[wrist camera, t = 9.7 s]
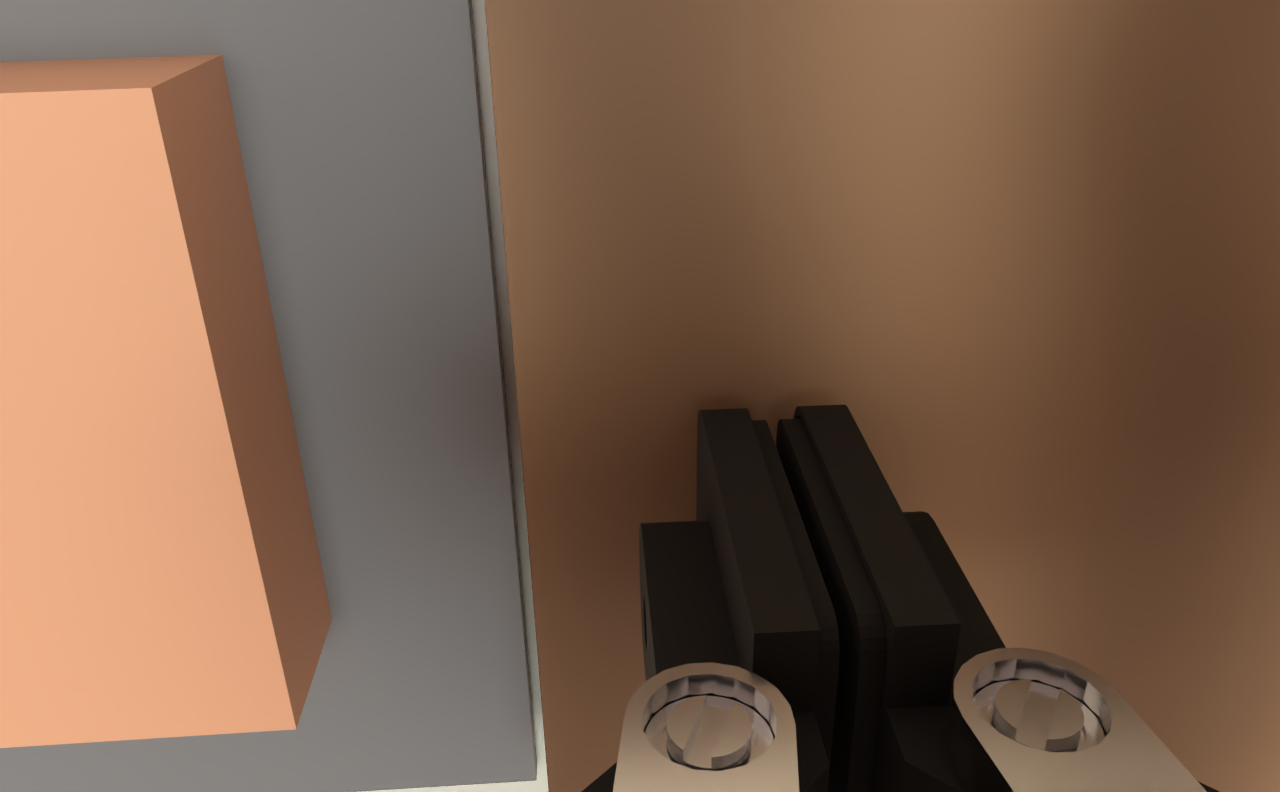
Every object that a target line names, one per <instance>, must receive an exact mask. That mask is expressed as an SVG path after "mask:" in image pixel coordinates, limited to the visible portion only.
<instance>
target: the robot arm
mask: <svg viewBox="0 0 1280 792" xmlns="http://www.w3.org/2000/svg"><path fill="white" fill-rule="evenodd" d="M639 555H640V600H641V623H642V641H643V655H644V667H645V678H646V681H645V682H644V683H643V684H642V685H641V686H640V687H639V689H638V690H637V691H636V692H635V693H634V694H633V695H632V696H631V698H630V701H629V704H628V706H627V709H626V712H625V714H624V720H623V727H622V733H621V740H620V747H619V753H618V760H617V762H616V763H615V764H614V765H613V766H611V767H610V768H609V769H608V770H607V771H605V772H604V773H603V774H602V775H601V776H599V777H598V778H597V779H596V780H595V781H593V782H592V783H591V784H590V785H589V786H587V787H586V788H585V789H584V790H583V791H581V792H1220V791H1217V790H1215V789H1213V788H1211V787H1209V786H1207V785H1205V784H1203V783H1201V782H1199V781H1197V780H1196V779H1195V778H1194V777H1193V776H1192V775H1191V773H1190V772H1189V771H1188V770H1187V769H1186V768H1185V767H1184V766H1183V764H1182V763H1181V762H1180V761H1179V760H1178V759H1177V758H1176V757H1175V756H1174V754H1173V753H1172V752H1171V751H1170V750H1169V749H1168V748H1167V747H1166V745H1165V744H1164V743H1163V742H1162V741H1161V740H1160V739H1159V738H1158V737H1157V735H1156V734H1155V733H1154V732H1153V731H1152V730H1151V729H1150V728H1149V726H1148V725H1147V724H1146V723H1145V722H1144V721H1143V720H1142V719H1141V717H1140V716H1139V715H1138V714H1137V713H1136V712H1135V711H1134V710H1133V709H1132V707H1131V706H1130V705H1129V704H1128V703H1127V702H1126V701H1125V700H1124V698H1123V697H1122V696H1121V695H1120V694H1119V693H1118V692H1117V691H1116V690H1115V689H1114V688H1113V687H1112V686H1111V685H1110V684H1108V683H1107V682H1106V681H1105V680H1104V679H1103V678H1102V677H1100V676H1099V675H1098V674H1097V673H1095V672H1093V671H1092V670H1090V669H1088V668H1086V667H1084V666H1083V665H1081V664H1079V663H1077V662H1076V661H1074V660H1071V659H1068V658H1065V657H1062V656H1059V655H1056V654H1053V653H1050V652H1047V651H1041V650H1034V649H1028V648H1006V647H1005V645H1004V643H1003V641H1002V640H1001V638H1000V636H999V634H998V633H997V631H996V629H995V627H994V626H993V624H992V622H991V620H990V618H989V617H988V615H987V613H986V611H985V610H984V608H983V606H982V604H981V603H980V601H979V599H978V597H977V596H976V594H975V592H974V590H973V588H972V587H971V585H970V583H969V581H968V580H967V578H966V576H965V574H964V573H963V571H962V569H961V567H960V565H959V564H958V562H957V560H956V558H955V557H954V555H953V553H952V551H951V550H950V548H949V546H948V544H947V542H946V541H945V539H944V537H943V535H942V534H941V532H940V530H939V528H938V527H937V525H936V523H935V521H934V520H933V518H932V517H931V516H930V515H929V513H927V512H923V511H916V512H902V510H901V508H900V506H899V504H898V502H897V500H896V498H895V496H894V495H893V493H892V491H891V489H890V487H889V485H888V483H887V481H886V479H885V477H884V475H883V474H882V472H881V470H880V468H879V466H878V464H877V462H876V460H875V458H874V456H873V454H872V452H871V451H870V449H869V447H868V445H867V443H866V441H865V439H864V437H863V435H862V433H861V431H860V430H859V428H858V426H857V424H856V422H855V420H854V418H853V416H852V414H851V412H850V410H849V409H848V407H847V406H846V405H819V406H797V407H796V409H795V412H794V417H793V419H779V421H778V425H777V436H776V445H775V443H774V440H773V437H772V434H771V431H770V429H769V426H768V423H767V421H766V420H751V417H750V414H749V411H748V409H747V408H739V409H712V410H699V413H698V423H697V496H696V521H679V522H655V523H640V528H639Z"/></svg>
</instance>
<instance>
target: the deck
mask: <svg viewBox="0 0 1280 792" xmlns="http://www.w3.org/2000/svg"><path fill="white" fill-rule="evenodd" d="M485 9H486V21H487V34H488V46H489V58H490V71H491V83H492V95H493V108H494V120H495V133H496V145H497V157H498V170H499V182H500V194H501V207H502V219H503V231H504V244H505V256H506V268H507V281H508V293H509V305H510V318H511V330H512V343H513V355H514V367H515V380H516V392H517V404H518V417H519V429H520V441H521V454H522V466H523V478H524V491H525V503H526V516H527V528H528V540H529V553H530V565H531V577H532V590H533V602H534V614H535V627H536V639H537V651H538V664H539V676H540V688H541V701H542V713H543V726H544V738H545V750H546V763H547V775H548V787H549V792H581V791H583V790H584V789H585V788H586V787H587V786H589V785H590V784H591V783H592V782H593V781H595V780H596V779H597V778H598V777H599V776H601V775H602V774H603V773H604V772H605V771H607V770H608V769H609V768H610V767H611V766H613V765H614V764H615V763H616V762H617V760H618V753H619V747H620V740H621V733H622V727H623V720H624V714H625V712H626V709H627V706H628V704H629V701H630V698H631V696H632V695H633V694H634V693H635V692H636V691H637V690H638V689H639V687H640V686H641V685H642V684H643V683H644V682H645V681H646V678H645V667H644V655H643V641H642V623H641V600H640V555H639V528H640V523H655V522H679V521H696V496H697V423H698V413H699V410H712V409H739V408H747V409H748V411H749V414H750V417H751V420H766V421H767V423H768V426H769V429H770V431H771V434H772V437H773V440H774V443H775V445H776V436H777V425H778V421H779V419H793V417H794V412H795V409H796V407H797V406H819V405H846V406H847V407H848V409H849V410H850V412H851V414H852V416H853V418H854V420H855V422H856V424H857V426H858V428H859V430H860V431H861V433H862V435H863V437H864V439H865V441H866V443H867V445H868V447H869V449H870V451H871V452H872V454H873V456H874V458H875V460H876V462H877V464H878V466H879V468H880V470H881V472H882V474H883V475H884V477H885V479H886V481H887V483H888V485H889V487H890V489H891V491H892V493H893V495H894V496H895V498H896V500H897V502H898V504H899V506H900V508H901V510H902V512H916V511H923V512H927V513H929V515H930V516H931V517H932V518H933V520H934V521H935V523H936V525H937V527H938V528H939V530H940V532H941V534H942V535H943V537H944V539H945V541H946V542H947V544H948V546H949V548H950V550H951V551H952V553H953V555H954V557H955V558H956V560H957V562H958V564H959V565H960V567H961V569H962V571H963V573H964V574H965V576H966V578H967V580H968V581H969V583H970V585H971V587H972V588H973V590H974V592H975V594H976V596H977V597H978V599H979V601H980V603H981V604H982V606H983V608H984V610H985V611H986V613H987V615H988V617H989V618H990V620H991V622H992V624H993V626H994V627H995V629H996V631H997V633H998V634H999V636H1000V638H1001V640H1002V641H1003V643H1004V645H1005V647H1006V648H1028V649H1034V650H1041V651H1047V652H1050V653H1053V654H1056V655H1059V656H1062V657H1065V658H1068V659H1071V660H1074V661H1076V662H1077V663H1079V664H1081V665H1083V666H1084V667H1086V668H1088V669H1090V670H1092V671H1093V672H1095V673H1097V674H1098V675H1099V676H1100V677H1102V678H1103V679H1104V680H1105V681H1106V682H1107V683H1108V684H1110V685H1111V686H1112V687H1113V688H1114V689H1115V690H1116V691H1117V692H1118V693H1119V694H1120V695H1121V696H1122V697H1123V698H1124V700H1125V701H1126V702H1127V703H1128V704H1129V705H1130V706H1131V707H1132V709H1133V710H1134V711H1135V712H1136V713H1137V714H1138V715H1139V716H1140V717H1141V719H1142V720H1143V721H1144V722H1145V723H1146V724H1147V725H1148V726H1149V728H1150V729H1151V730H1152V731H1153V732H1154V733H1155V734H1156V735H1157V737H1158V738H1159V739H1160V740H1161V741H1162V742H1163V743H1164V744H1165V745H1166V747H1167V748H1168V749H1169V750H1170V751H1171V752H1172V753H1173V754H1174V756H1175V757H1176V758H1177V759H1178V760H1179V761H1180V762H1181V763H1182V764H1183V766H1184V767H1185V768H1186V769H1187V770H1188V771H1189V772H1190V773H1191V775H1192V776H1193V777H1194V778H1195V779H1196V780H1197V781H1199V782H1201V783H1203V784H1205V785H1207V786H1209V787H1211V788H1213V789H1215V790H1217V791H1220V792H1280V0H485Z"/></svg>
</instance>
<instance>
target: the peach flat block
mask: <svg viewBox="0 0 1280 792" xmlns="http://www.w3.org/2000/svg"><path fill="white" fill-rule="evenodd" d="M331 621H332V618H331V613H330V607H329V602H328V597H327V592H326V587H325V582H324V577H323V571H322V566H321V561H320V556H319V551H318V546H317V541H316V536H315V530H314V525H313V520H312V515H311V510H310V505H309V500H308V494H307V489H306V484H305V479H304V474H303V469H302V464H301V458H300V453H299V448H298V443H297V438H296V433H295V428H294V423H293V417H292V412H291V407H290V402H289V397H288V392H287V387H286V381H285V376H284V371H283V366H282V361H281V356H280V351H279V345H278V340H277V335H276V330H275V325H274V320H273V315H272V310H271V304H270V299H269V294H268V289H267V284H266V279H265V274H264V268H263V263H262V258H261V253H260V248H259V243H258V238H257V233H256V227H255V222H254V217H253V212H252V207H251V202H250V197H249V191H248V186H247V181H246V176H245V171H244V166H243V161H242V155H241V150H240V145H239V140H238V135H237V130H236V125H235V120H234V114H233V109H232V104H231V99H230V94H229V89H228V84H227V78H226V73H225V68H224V63H223V58H222V54H221V55H192V56H164V57H136V58H107V59H79V60H50V61H22V62H0V748H10V747H26V746H42V745H58V744H74V743H89V742H105V741H121V740H137V739H152V738H168V737H184V736H200V735H216V734H231V733H247V732H263V731H279V730H295V729H297V726H298V723H299V720H300V717H301V714H302V711H303V708H304V704H305V701H306V698H307V695H308V692H309V689H310V686H311V683H312V680H313V677H314V674H315V671H316V668H317V664H318V661H319V658H320V655H321V652H322V649H323V646H324V643H325V640H326V637H327V634H328V631H329V628H330V625H331Z"/></svg>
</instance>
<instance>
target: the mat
mask: <svg viewBox="0 0 1280 792" xmlns="http://www.w3.org/2000/svg"><path fill="white" fill-rule="evenodd" d="M221 54H222V58H223V63H224V68H225V73H226V78H227V84H228V89H229V94H230V99H231V104H232V109H233V114H234V120H235V125H236V130H237V135H238V140H239V145H240V150H241V155H242V161H243V166H244V171H245V176H246V181H247V186H248V191H249V197H250V202H251V207H252V212H253V217H254V222H255V227H256V233H257V238H258V243H259V248H260V253H261V258H262V263H263V268H264V274H265V279H266V284H267V289H268V294H269V299H270V304H271V310H272V315H273V320H274V325H275V330H276V335H277V340H278V345H279V351H280V356H281V361H282V366H283V371H284V376H285V381H286V387H287V392H288V397H289V402H290V407H291V412H292V417H293V423H294V428H295V433H296V438H297V443H298V448H299V453H300V458H301V464H302V469H303V474H304V479H305V484H306V489H307V494H308V500H309V505H310V510H311V515H312V520H313V525H314V530H315V536H316V541H317V546H318V551H319V556H320V561H321V566H322V571H323V577H324V582H325V587H326V592H327V597H328V602H329V607H330V613H331V618H332V621H331V625H330V628H329V631H328V634H327V637H326V640H325V643H324V646H323V649H322V652H321V655H320V658H319V661H318V664H317V668H316V671H315V674H314V677H313V680H312V683H311V686H310V689H309V692H308V695H307V698H306V701H305V704H304V708H303V711H302V714H301V717H300V720H299V723H298V726H297V729H295V730H279V731H263V732H247V733H231V734H216V735H200V736H184V737H168V738H152V739H137V740H121V741H105V742H89V743H74V744H58V745H42V746H26V747H10V748H0V792H357V791H373V790H389V789H405V788H421V787H437V786H453V785H469V784H485V783H501V782H517V781H534V780H536V776H537V759H536V747H535V735H534V724H533V712H532V701H531V689H530V678H529V666H528V654H527V643H526V631H525V620H524V608H523V597H522V585H521V574H520V562H519V550H518V539H517V527H516V516H515V504H514V493H513V481H512V469H511V458H510V446H509V435H508V423H507V412H506V400H505V388H504V377H503V365H502V354H501V342H500V331H499V319H498V307H497V296H496V284H495V273H494V261H493V250H492V238H491V226H490V215H489V203H488V192H487V180H486V169H485V157H484V145H483V134H482V122H481V111H480V99H479V88H478V76H477V64H476V53H475V41H474V30H473V18H472V7H471V0H0V62H22V61H50V60H79V59H107V58H136V57H164V56H192V55H221Z"/></svg>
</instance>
